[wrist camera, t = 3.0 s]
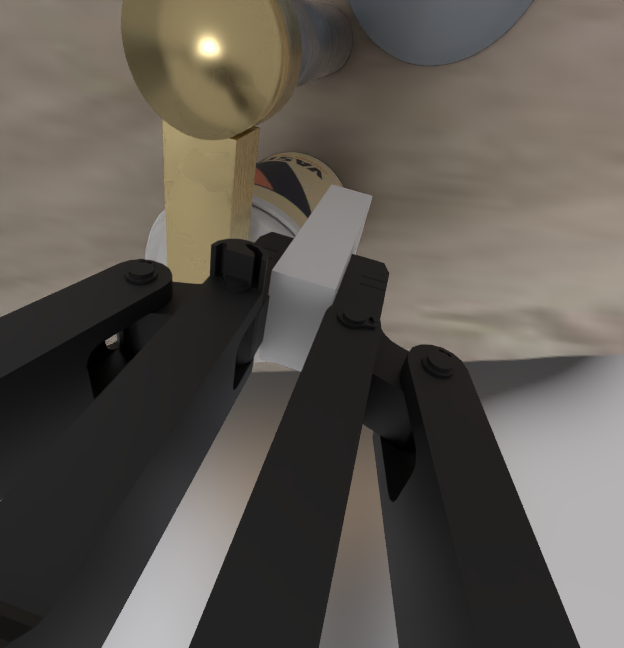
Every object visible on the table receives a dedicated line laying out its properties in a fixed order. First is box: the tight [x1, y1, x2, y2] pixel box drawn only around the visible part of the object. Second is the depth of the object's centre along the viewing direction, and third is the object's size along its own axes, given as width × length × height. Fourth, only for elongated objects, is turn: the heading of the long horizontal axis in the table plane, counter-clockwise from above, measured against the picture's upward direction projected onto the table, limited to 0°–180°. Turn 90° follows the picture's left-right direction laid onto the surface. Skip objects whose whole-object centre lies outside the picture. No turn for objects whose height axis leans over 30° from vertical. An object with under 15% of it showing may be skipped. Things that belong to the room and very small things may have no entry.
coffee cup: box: [145, 152, 343, 363], centre depth 24 cm, size 9×9×12 cm
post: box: [290, 0, 353, 87], centre depth 18 cm, size 3×3×12 cm
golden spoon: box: [121, 0, 302, 284], centre depth 16 cm, size 4×18×3 cm, turn 170°
